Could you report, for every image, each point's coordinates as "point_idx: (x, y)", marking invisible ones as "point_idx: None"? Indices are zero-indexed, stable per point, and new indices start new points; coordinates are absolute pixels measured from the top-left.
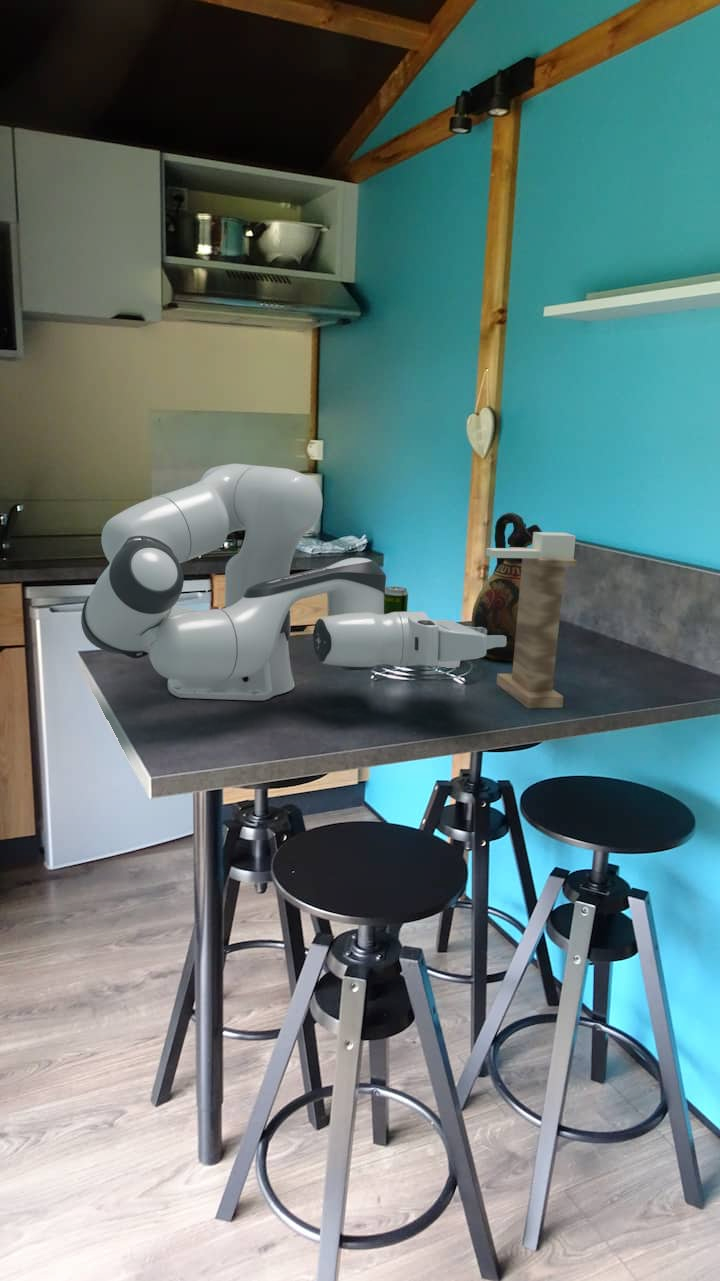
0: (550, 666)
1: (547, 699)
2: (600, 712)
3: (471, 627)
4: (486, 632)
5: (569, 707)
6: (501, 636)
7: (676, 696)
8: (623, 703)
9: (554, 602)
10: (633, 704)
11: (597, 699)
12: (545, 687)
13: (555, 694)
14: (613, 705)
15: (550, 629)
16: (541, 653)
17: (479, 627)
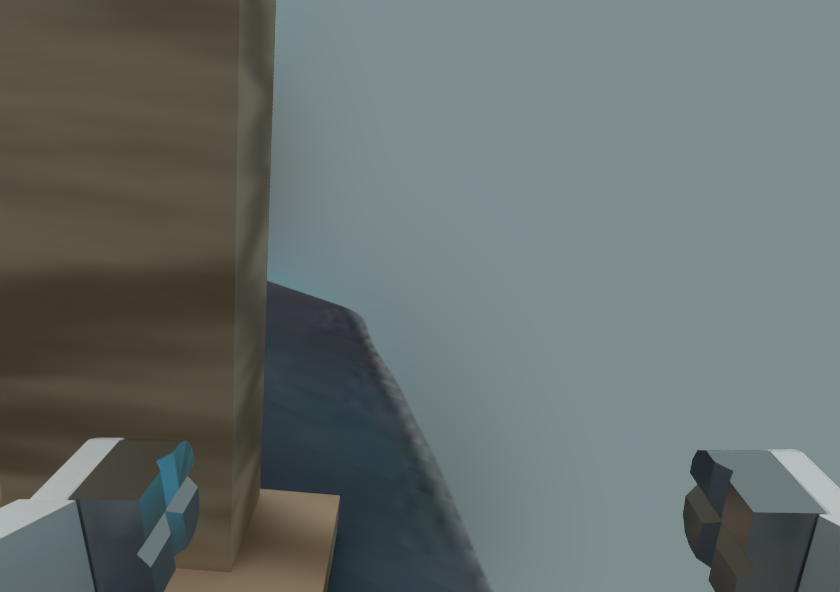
0: (258, 415)
1: (331, 550)
2: (405, 466)
3: (17, 532)
4: (188, 471)
5: (340, 513)
6: (824, 477)
7: (317, 326)
8: (337, 400)
9: (264, 121)
10: (351, 390)
11: (285, 426)
12: (252, 504)
13: (308, 506)
14: (348, 420)
15: (257, 260)
16: (247, 384)
17: (87, 464)
